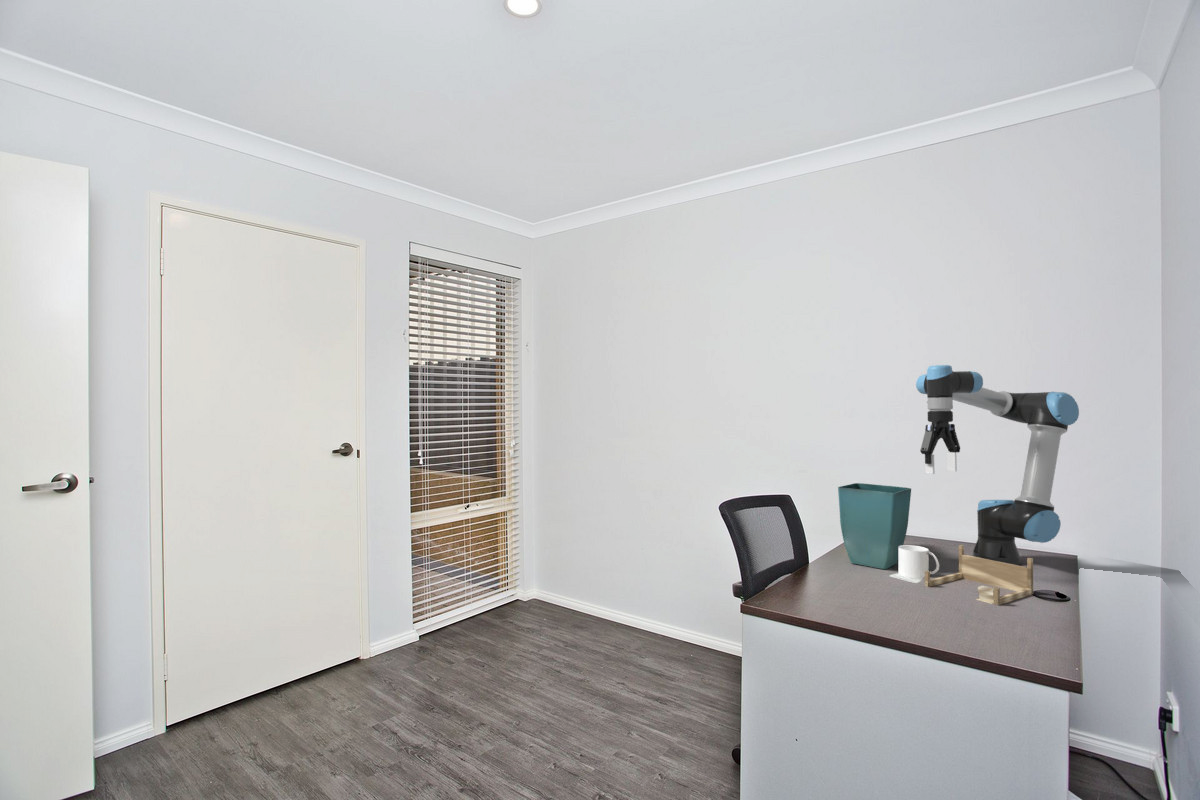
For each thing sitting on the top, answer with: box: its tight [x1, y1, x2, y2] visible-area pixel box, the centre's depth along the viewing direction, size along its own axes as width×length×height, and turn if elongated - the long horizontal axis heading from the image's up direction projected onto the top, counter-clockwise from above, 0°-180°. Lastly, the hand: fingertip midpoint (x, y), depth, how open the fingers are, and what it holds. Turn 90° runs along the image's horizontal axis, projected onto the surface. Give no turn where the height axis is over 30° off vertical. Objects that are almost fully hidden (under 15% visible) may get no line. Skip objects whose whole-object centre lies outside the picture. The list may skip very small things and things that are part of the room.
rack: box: [924, 544, 1034, 606], centre depth 182 cm, size 21×21×12 cm
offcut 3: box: [975, 598, 994, 605], centre depth 172 cm, size 5×4×2 cm
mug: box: [897, 544, 940, 580], centre depth 199 cm, size 12×9×9 cm
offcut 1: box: [977, 585, 995, 596], centre depth 172 cm, size 4×3×2 cm
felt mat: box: [889, 572, 923, 584], centre depth 199 cm, size 12×12×1 cm
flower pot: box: [837, 482, 912, 570], centre depth 218 cm, size 20×20×28 cm
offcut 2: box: [978, 592, 994, 603], centre depth 172 cm, size 4×4×2 cm
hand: (941, 472), depth 202 cm, fingers open, 13 cm apart
